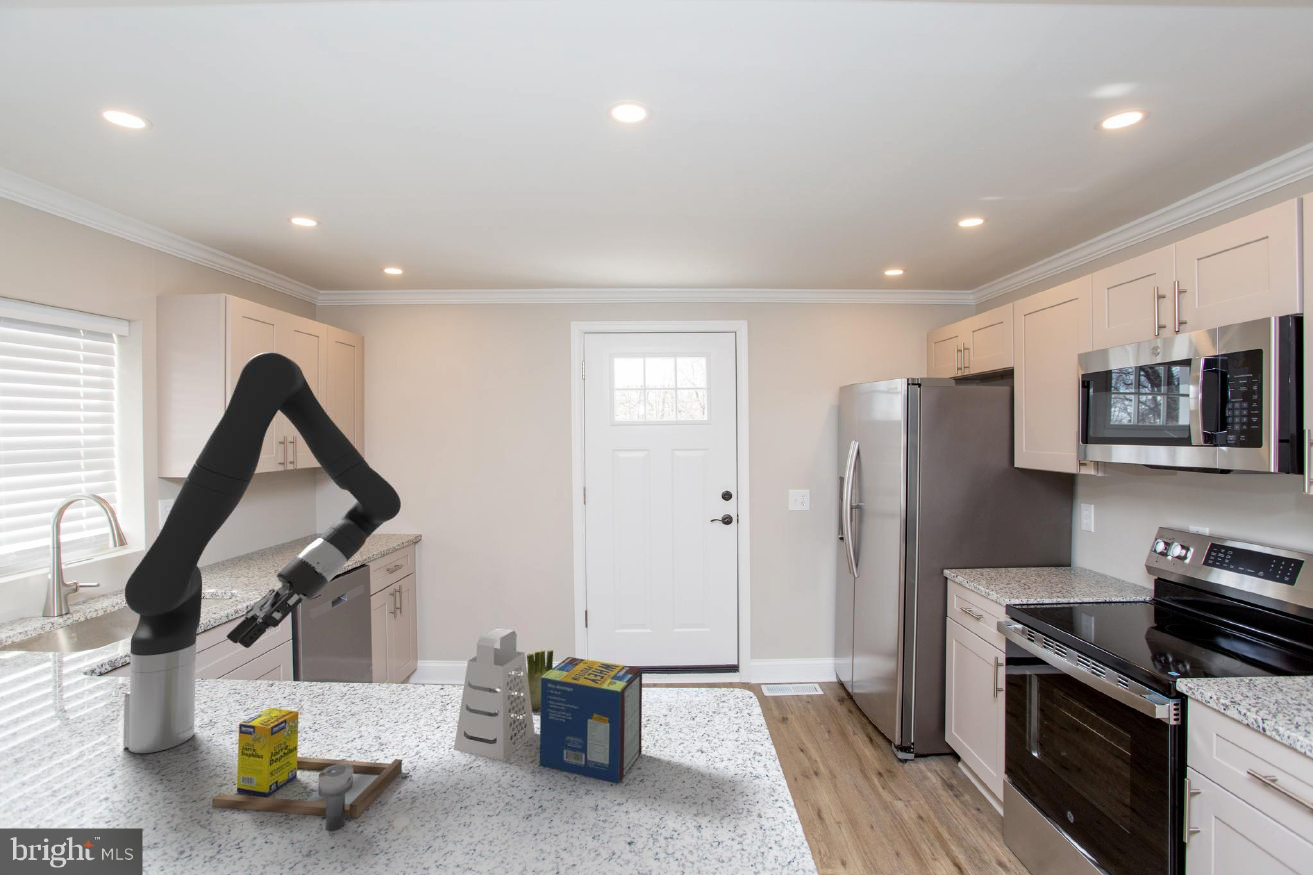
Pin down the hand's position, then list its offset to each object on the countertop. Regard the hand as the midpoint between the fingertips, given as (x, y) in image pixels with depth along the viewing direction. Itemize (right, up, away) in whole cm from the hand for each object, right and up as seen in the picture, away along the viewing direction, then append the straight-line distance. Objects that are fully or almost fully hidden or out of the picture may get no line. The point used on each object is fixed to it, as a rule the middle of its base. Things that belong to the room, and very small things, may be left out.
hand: (236, 642), depth 100 cm
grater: (+42, -22, +9) cm, 48 cm away
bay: (+16, -21, -7) cm, 27 cm away
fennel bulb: (+47, -22, +23) cm, 57 cm away
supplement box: (+9, -21, -6) cm, 24 cm away
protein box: (+60, -22, +3) cm, 64 cm away
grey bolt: (+25, -21, -15) cm, 37 cm away
